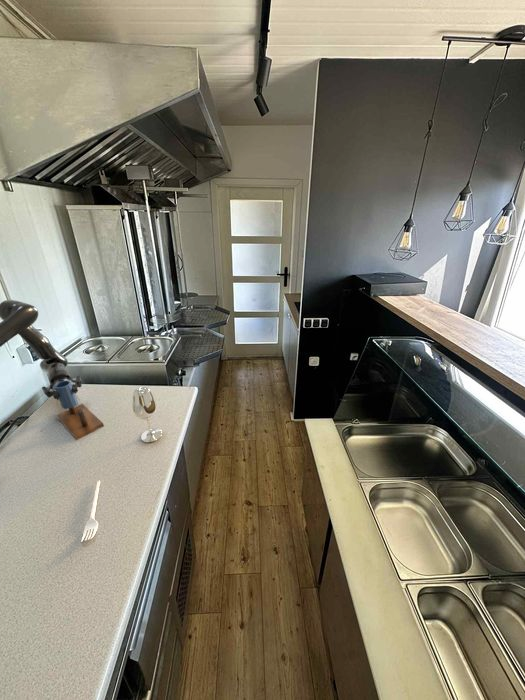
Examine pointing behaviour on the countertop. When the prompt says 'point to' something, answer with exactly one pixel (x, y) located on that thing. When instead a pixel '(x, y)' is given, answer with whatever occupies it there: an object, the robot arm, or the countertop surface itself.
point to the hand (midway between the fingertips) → (66, 394)
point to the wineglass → (145, 412)
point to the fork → (92, 518)
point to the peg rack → (79, 421)
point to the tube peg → (66, 394)
